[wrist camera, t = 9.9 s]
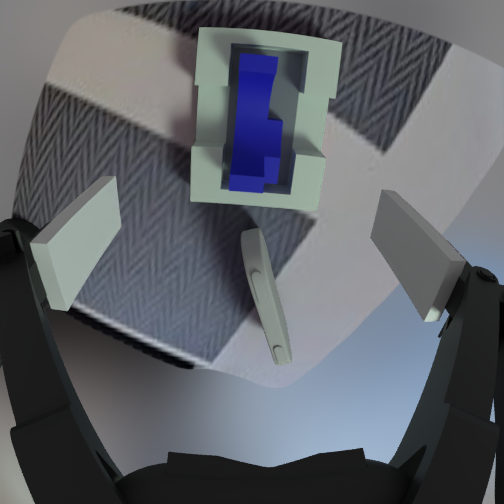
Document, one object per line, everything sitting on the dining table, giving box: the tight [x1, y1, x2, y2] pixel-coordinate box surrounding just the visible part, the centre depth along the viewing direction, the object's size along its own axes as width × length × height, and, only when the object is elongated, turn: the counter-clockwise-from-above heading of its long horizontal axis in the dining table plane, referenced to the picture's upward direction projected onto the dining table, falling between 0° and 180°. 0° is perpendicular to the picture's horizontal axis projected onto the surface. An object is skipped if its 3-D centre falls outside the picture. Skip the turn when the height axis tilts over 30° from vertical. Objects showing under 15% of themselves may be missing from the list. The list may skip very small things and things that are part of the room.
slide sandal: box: [241, 228, 292, 365], centre depth 38 cm, size 20×2×8 cm, turn 14°
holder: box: [190, 27, 342, 211], centre depth 29 cm, size 13×18×4 cm
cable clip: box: [229, 53, 283, 194], centre depth 27 cm, size 12×4×6 cm, turn 175°
